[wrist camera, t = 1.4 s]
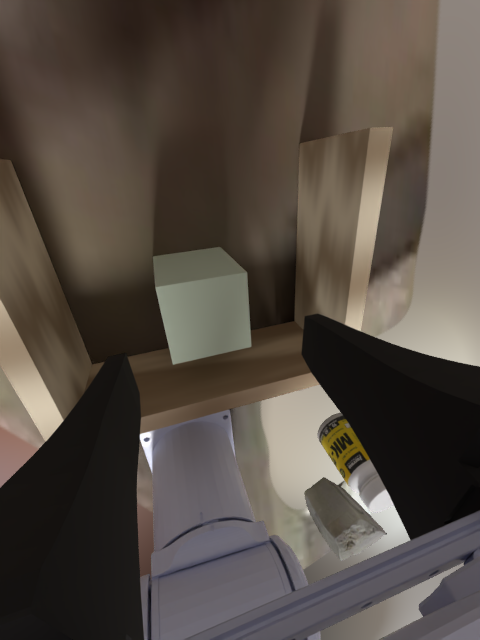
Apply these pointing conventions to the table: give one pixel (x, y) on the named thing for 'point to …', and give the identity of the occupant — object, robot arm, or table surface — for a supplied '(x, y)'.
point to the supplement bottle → (353, 462)
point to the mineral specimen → (341, 519)
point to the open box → (156, 367)
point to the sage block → (202, 303)
